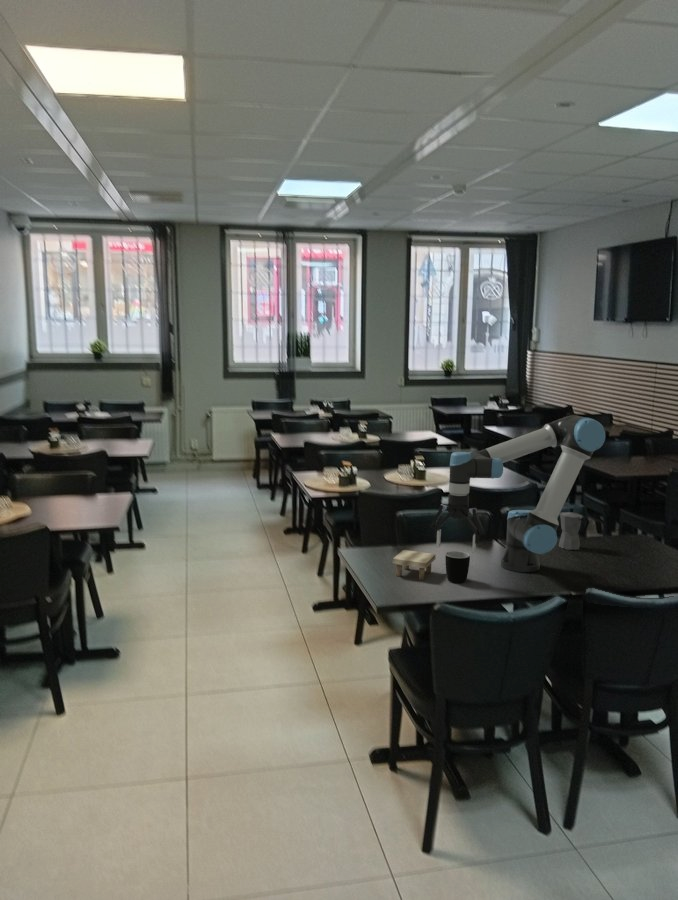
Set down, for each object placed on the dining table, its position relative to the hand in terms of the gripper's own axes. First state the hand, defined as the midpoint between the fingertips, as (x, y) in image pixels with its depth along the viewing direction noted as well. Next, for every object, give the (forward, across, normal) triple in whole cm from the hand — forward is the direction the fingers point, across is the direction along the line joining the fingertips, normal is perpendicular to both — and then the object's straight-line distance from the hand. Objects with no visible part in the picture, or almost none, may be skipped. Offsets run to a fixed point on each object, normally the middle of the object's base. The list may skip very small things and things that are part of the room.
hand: (455, 549), depth 264 cm
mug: (+12, 0, 0) cm, 12 cm away
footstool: (+12, +16, +1) cm, 20 cm away
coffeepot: (+11, -36, -64) cm, 74 cm away
